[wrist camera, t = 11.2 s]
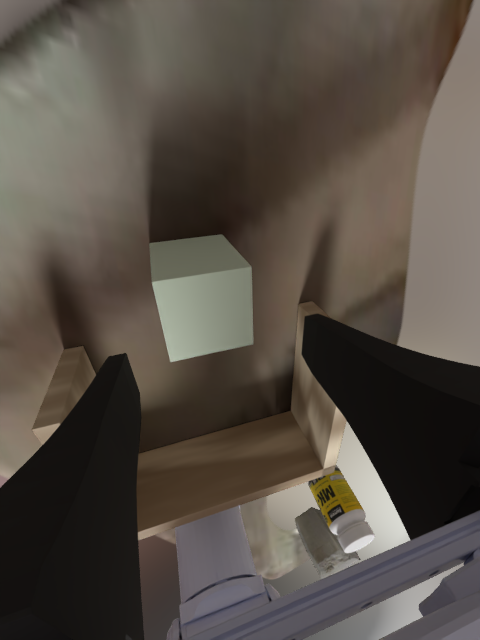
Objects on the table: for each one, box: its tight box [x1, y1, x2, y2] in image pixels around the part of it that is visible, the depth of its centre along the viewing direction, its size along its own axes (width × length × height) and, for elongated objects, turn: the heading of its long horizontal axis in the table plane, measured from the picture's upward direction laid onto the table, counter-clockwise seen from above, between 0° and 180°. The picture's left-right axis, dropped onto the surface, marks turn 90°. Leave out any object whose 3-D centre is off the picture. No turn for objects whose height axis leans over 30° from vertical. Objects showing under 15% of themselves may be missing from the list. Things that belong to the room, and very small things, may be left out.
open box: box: [32, 301, 347, 540], centre depth 22 cm, size 14×18×6 cm
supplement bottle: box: [308, 466, 375, 553], centre depth 35 cm, size 5×5×8 cm
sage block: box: [149, 234, 253, 362], centre depth 16 cm, size 4×4×6 cm
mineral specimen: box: [295, 507, 360, 579], centre depth 41 cm, size 7×9×8 cm
